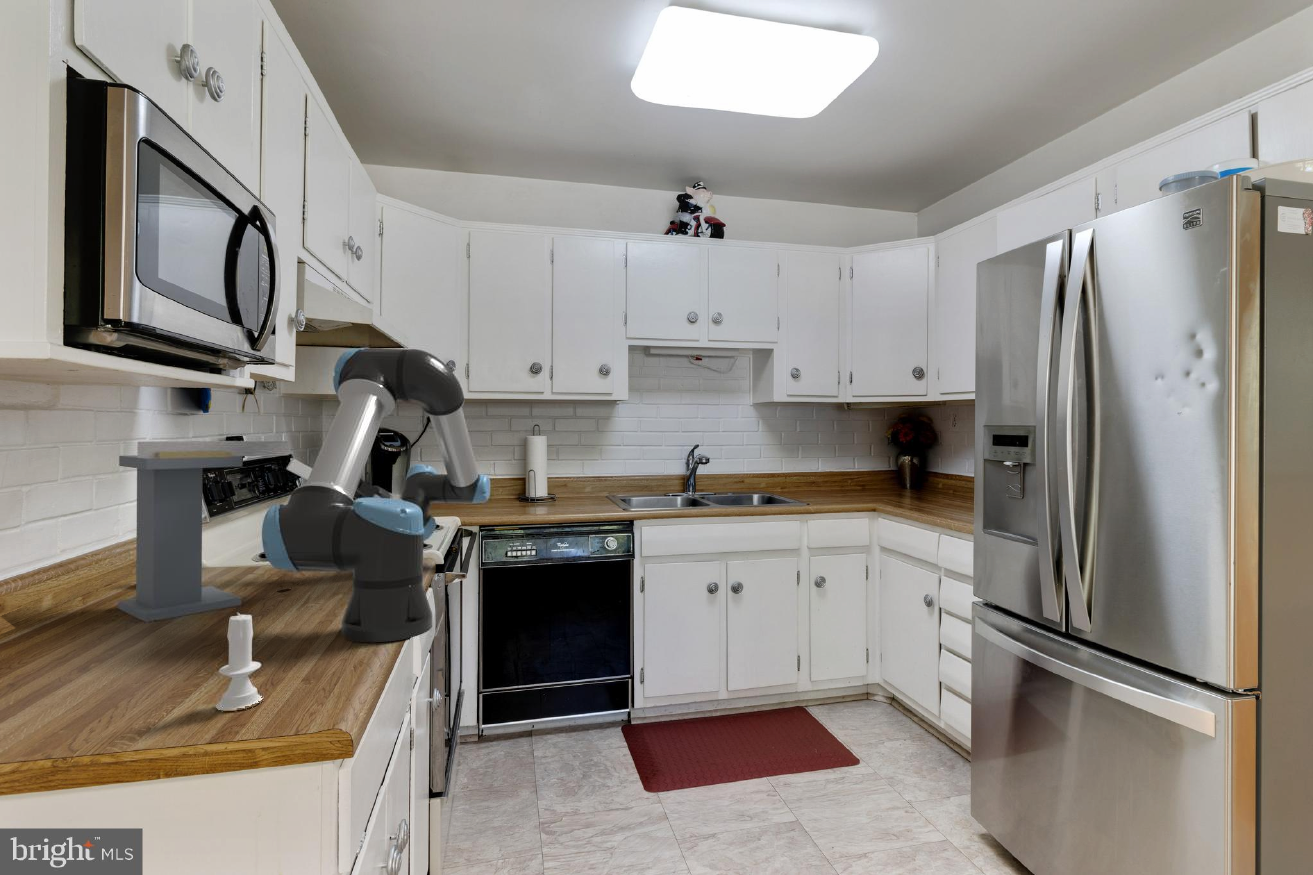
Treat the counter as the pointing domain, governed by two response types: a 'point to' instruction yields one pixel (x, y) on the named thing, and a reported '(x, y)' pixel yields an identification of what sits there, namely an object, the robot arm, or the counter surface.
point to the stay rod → (213, 447)
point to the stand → (172, 539)
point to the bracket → (194, 454)
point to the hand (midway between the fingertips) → (304, 464)
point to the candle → (239, 665)
